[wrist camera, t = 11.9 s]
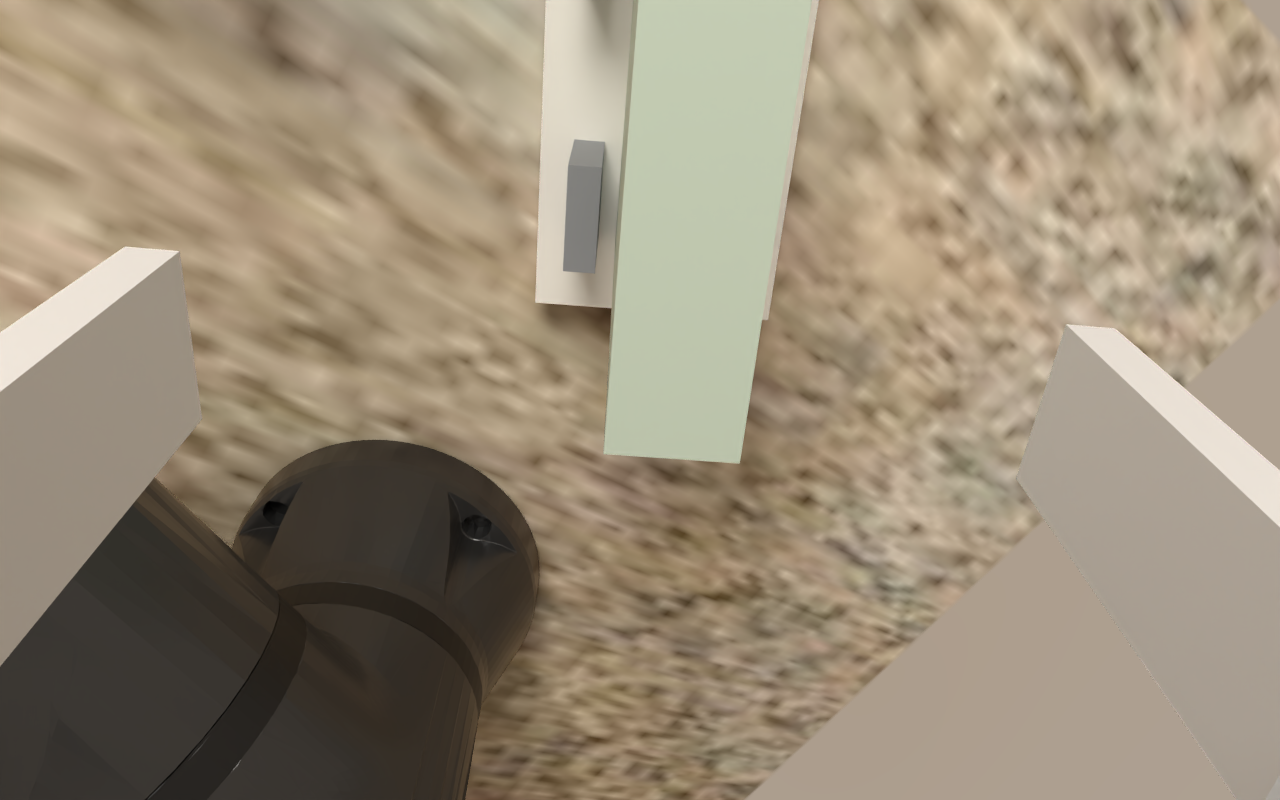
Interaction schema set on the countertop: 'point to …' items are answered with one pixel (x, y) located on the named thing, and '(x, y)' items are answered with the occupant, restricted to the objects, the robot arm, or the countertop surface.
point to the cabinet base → (597, 149)
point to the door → (697, 219)
